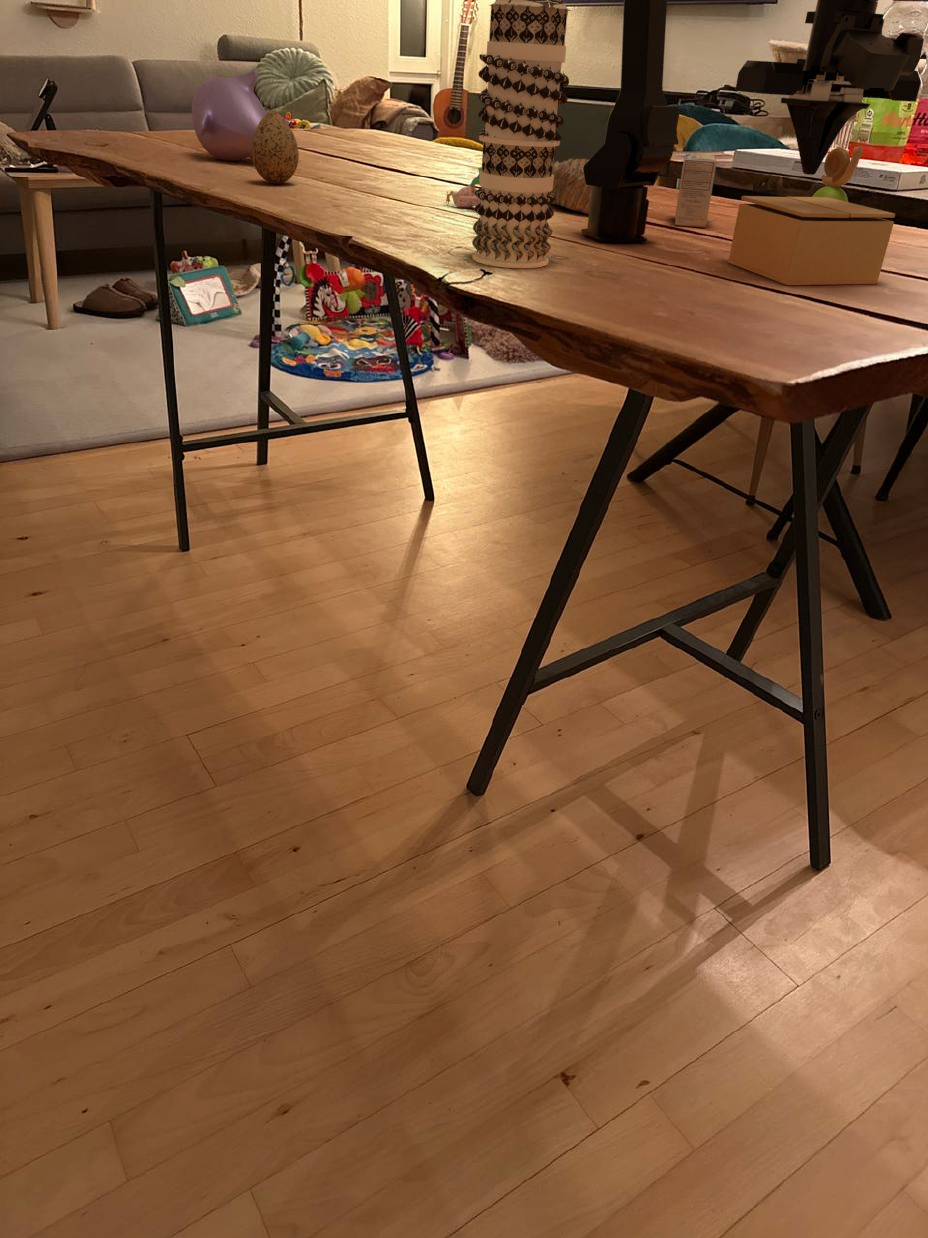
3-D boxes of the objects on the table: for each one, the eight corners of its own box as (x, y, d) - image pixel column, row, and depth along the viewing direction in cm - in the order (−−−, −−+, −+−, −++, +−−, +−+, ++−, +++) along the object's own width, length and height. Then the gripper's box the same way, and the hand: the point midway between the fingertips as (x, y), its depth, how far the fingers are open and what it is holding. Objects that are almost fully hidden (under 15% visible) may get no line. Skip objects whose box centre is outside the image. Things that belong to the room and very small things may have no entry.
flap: (802, 216, 96) (803, 212, 96) (740, 199, 106) (741, 195, 105) (848, 217, 98) (849, 213, 98) (783, 200, 107) (784, 196, 107)
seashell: (648, 194, 136) (622, 128, 130) (606, 234, 134) (577, 168, 128) (584, 199, 147) (557, 139, 141) (544, 236, 145) (515, 176, 139)
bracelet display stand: (455, 252, 105) (468, -15, 92) (528, 251, 108) (550, -8, 95) (489, 269, 98) (508, -17, 85) (566, 267, 101) (595, -9, 88)
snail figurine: (829, 230, 135) (851, 137, 129) (796, 222, 140) (817, 132, 134) (855, 229, 138) (879, 138, 131) (823, 221, 142) (844, 133, 136)
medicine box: (705, 228, 130) (717, 159, 126) (673, 225, 131) (684, 157, 126) (704, 220, 137) (716, 154, 132) (674, 217, 138) (684, 152, 133)
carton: (787, 285, 100) (803, 212, 96) (728, 262, 109) (740, 195, 105) (877, 283, 103) (896, 213, 99) (812, 261, 113) (827, 196, 109)
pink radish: (438, 215, 135) (512, 213, 125) (435, 170, 133) (511, 163, 123) (469, 213, 139) (544, 210, 129) (467, 168, 137) (543, 162, 126)
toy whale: (217, 155, 178) (243, 68, 172) (296, 196, 166) (327, 104, 160) (156, 129, 167) (182, 35, 161) (236, 170, 155) (267, 71, 149)
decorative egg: (254, 186, 142) (249, 111, 136) (251, 179, 148) (247, 108, 142) (301, 187, 143) (299, 113, 138) (297, 181, 149) (295, 110, 144)
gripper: (818, -10, 83) (778, 182, 91) (983, 5, 88) (931, 185, 97) (749, -6, 92) (718, 168, 100) (902, 7, 97) (861, 172, 105)
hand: (808, 174), depth 100 cm, fingers closed
